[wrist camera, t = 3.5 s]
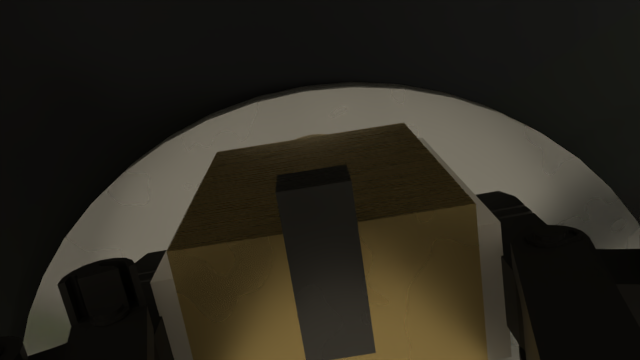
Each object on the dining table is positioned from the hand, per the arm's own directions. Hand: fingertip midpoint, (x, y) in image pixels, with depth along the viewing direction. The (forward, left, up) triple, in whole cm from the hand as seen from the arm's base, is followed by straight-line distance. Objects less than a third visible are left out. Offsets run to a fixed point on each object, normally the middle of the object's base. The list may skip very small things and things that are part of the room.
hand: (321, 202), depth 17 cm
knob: (0, 0, -1) cm, 1 cm away
